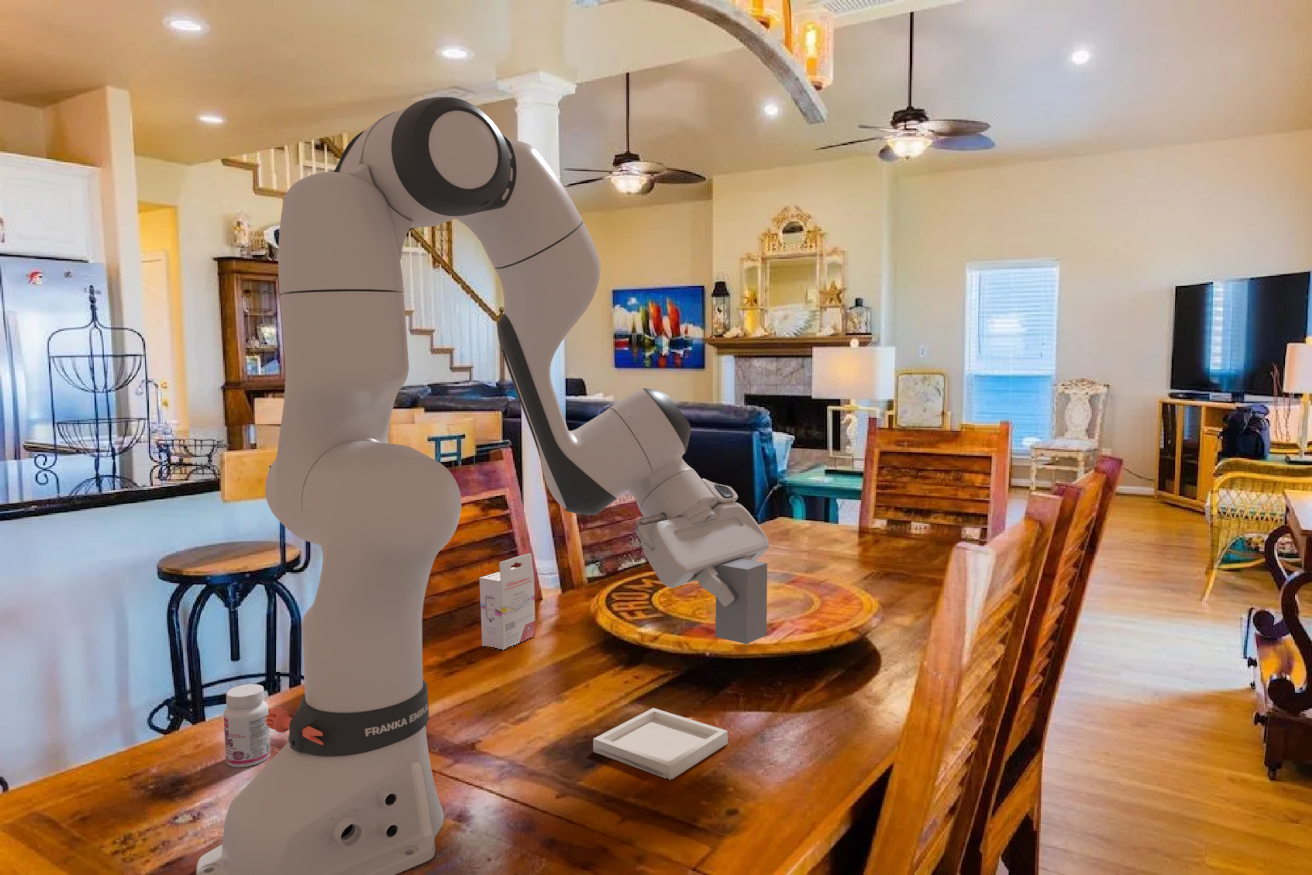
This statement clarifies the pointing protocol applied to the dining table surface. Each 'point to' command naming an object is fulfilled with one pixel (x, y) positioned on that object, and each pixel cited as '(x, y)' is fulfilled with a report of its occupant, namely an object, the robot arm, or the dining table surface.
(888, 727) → the dining table surface
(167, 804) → the dining table surface
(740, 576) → the grey block
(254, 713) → the pill bottle
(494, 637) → the ink cartridge box
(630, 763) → the tray
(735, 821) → the dining table surface
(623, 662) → the dining table surface
